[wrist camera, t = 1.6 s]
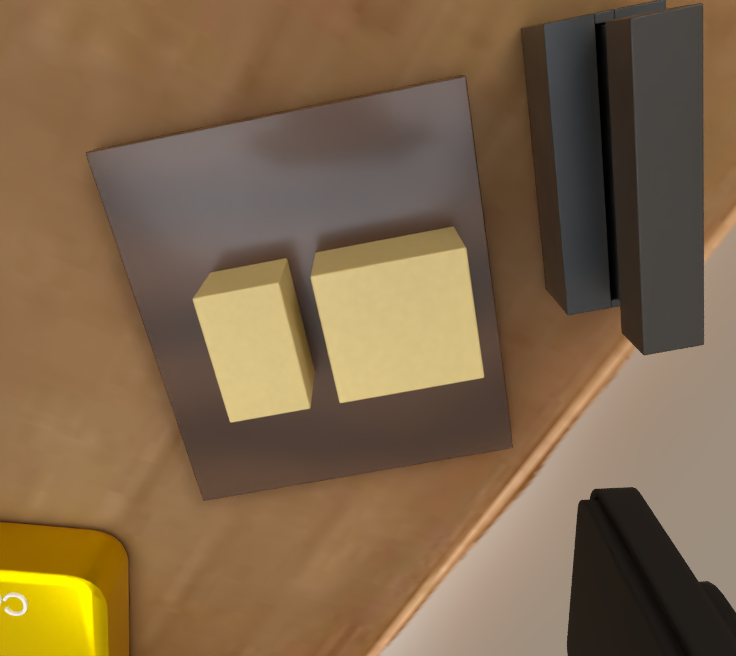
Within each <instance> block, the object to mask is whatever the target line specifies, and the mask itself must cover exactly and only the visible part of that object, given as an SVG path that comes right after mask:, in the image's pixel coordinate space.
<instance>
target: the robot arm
mask: <svg viewBox="0 0 736 656" xmlns="http://www.w3.org/2000/svg"><path fill="white" fill-rule="evenodd" d="M567 652H568V656H736V612H735V611H734V609H733V608H732V607H731V605H730V604H729V602H728V601H727V600H726V598H725V597H724V595H723V594H722V593H721V592H720V590H719V589H718V588H717V587H716V586H715V585H713V584H712V583H710V582H708V581H705V582H698V580H697V579H696V577H695V576H694V574H693V573H692V571H691V570H690V568H689V567H688V565H687V563H686V562H685V560H684V559H683V557H682V556H681V554H680V553H679V551H678V550H677V548H676V547H675V545H674V544H673V542H672V541H671V539H670V538H669V536H668V535H667V533H666V532H665V530H664V529H663V527H662V526H661V524H660V523H659V521H658V520H657V518H656V517H655V515H654V514H653V512H652V510H651V509H650V508H649V506H648V505H647V503H646V501H645V500H644V498H643V497H642V495H641V494H640V492H639V491H638V490H637V489H636V488H633V487H630V488H607V489H594V490H593V491H592V493H591V496H590V500H581V501H580V502H579V504H578V513H577V524H576V537H575V550H574V562H573V574H572V586H571V599H570V612H569V624H568V636H567Z"/></svg>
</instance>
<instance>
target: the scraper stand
mask: <svg viewBox="0 0 736 656" xmlns="http://www.w3.org/2000/svg"><path fill="white" fill-rule="evenodd" d="M663 9H666V0H658V1H653V2H648V3H642V4H637V5H632V6H626V7H621V8H617V9H612V10H607V11H602V12H597V13H592V14H587V15H582V16H577V17H573V18H568V19H563V20H558V21H553V22H548V23H543V24H538V25H534V26H529V27H524V28H521V33H522V43H523V54H524V64H525V75H526V85H527V96H528V106H529V117H530V127H531V137H532V148H533V158H534V169H535V179H536V190H537V200H538V211H539V221H540V231H541V242H542V252H543V263H544V273H545V284H546V290H547V291H548V292H549V293H550V294H551V296H552V297H553V298H554V299H555V300H556V302H557V303H558V304H559V305H560V307H561V308H562V309H563V310H564V311H565V313H566V314H567V315H573V314H579V313H584V312H590V311H595V310H601V309H606V308H611V307H618V306H620V301H619V300H618V299H617V298H616V297H615V296H614V295H613V294H611V293H610V279H609V262H608V244H607V227H606V210H605V193H604V175H603V158H602V141H601V124H600V106H599V89H598V72H597V55H596V37H595V26H598V25H606V21H609V20H614V19H619V18H624V17H629V16H634V15H639V14H644V13H648V12H653V11H658V10H663Z"/></svg>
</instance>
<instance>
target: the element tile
mask: <svg viewBox="0 0 736 656" xmlns="http://www.w3.org/2000/svg"><path fill="white" fill-rule="evenodd" d="M0 656H129V572H128V557H127V553H126V551H125V549H124V547H123V545H122V543H120V542H119V541H118V540H117V539H116V538H115V537H113V536H111V535H109V534H106V533H104V532H100V531H95V530H88V529H77V528H65V527H54V526H42V525H31V524H19V523H8V522H0Z"/></svg>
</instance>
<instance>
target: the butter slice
mask: <svg viewBox="0 0 736 656" xmlns="http://www.w3.org/2000/svg"><path fill="white" fill-rule="evenodd" d="M193 303H194V306H195V309H196V313H197V316H198V319H199V322H200V326H201V329H202V332H203V336H204V339H205V342H206V345H207V349H208V352H209V355H210V359H211V362H212V365H213V368H214V372H215V375H216V378H217V381H218V385H219V388H220V391H221V395H222V398H223V401H224V404H225V408H226V411H227V414H228V417H229V421H230V422H231V423H232V422H237V421H243V420H249V419H254V418H260V417H266V416H271V415H277V414H283V413H288V412H294V411H299V410H305V409H310V407H311V399H312V391H313V384H314V376H315V370H314V366H313V362H312V358H311V354H310V350H309V346H308V342H307V337H306V333H305V329H304V325H303V321H302V317H301V313H300V309H299V305H298V300H297V296H296V292H295V288H294V284H293V280H292V276H291V272H290V268H289V263H288V260H287V259H286V258H284V259H279V260H274V261H269V262H263V263H258V264H253V265H248V266H242V267H237V268H232V269H226V270H221V271H216V272H211V273H210V274H209V275H208V277H207V278H206V280H205V281H204V283H203V284H202V286H201V287H200V289H199V290H198V292H197V293H196V294H195V296H194V297H193Z"/></svg>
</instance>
